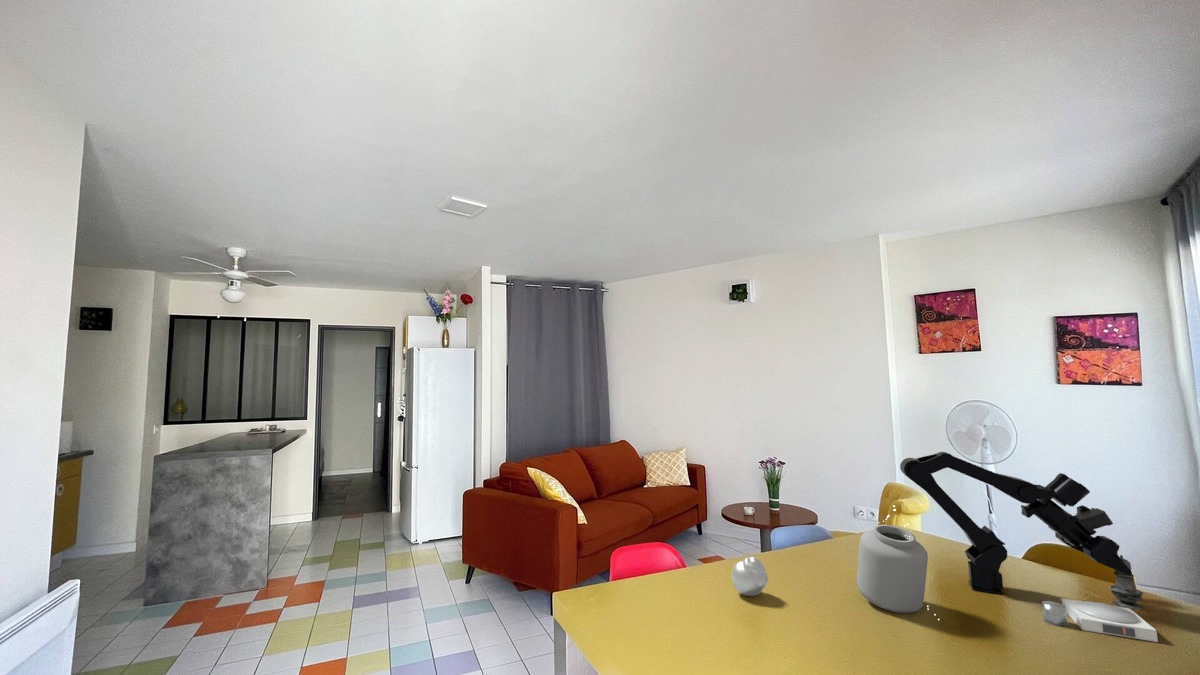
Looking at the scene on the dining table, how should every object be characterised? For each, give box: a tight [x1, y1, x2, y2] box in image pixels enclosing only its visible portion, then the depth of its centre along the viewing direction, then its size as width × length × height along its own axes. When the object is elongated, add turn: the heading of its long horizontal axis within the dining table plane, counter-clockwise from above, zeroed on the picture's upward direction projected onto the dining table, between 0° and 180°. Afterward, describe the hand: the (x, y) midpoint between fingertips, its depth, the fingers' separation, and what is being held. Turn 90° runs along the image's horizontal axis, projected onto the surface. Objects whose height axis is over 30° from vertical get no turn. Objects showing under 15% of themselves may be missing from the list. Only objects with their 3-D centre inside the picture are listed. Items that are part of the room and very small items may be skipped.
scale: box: [1061, 598, 1159, 643], centre depth 112 cm, size 12×13×3 cm
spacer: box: [1041, 600, 1068, 628], centre depth 113 cm, size 4×4×4 cm
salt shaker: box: [1108, 554, 1144, 611], centre depth 122 cm, size 6×6×12 cm
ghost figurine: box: [730, 556, 769, 597], centre depth 130 cm, size 9×10×10 cm
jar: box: [856, 505, 940, 621], centre depth 123 cm, size 19×15×25 cm
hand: (1118, 567), depth 123 cm, fingers open, 9 cm apart
